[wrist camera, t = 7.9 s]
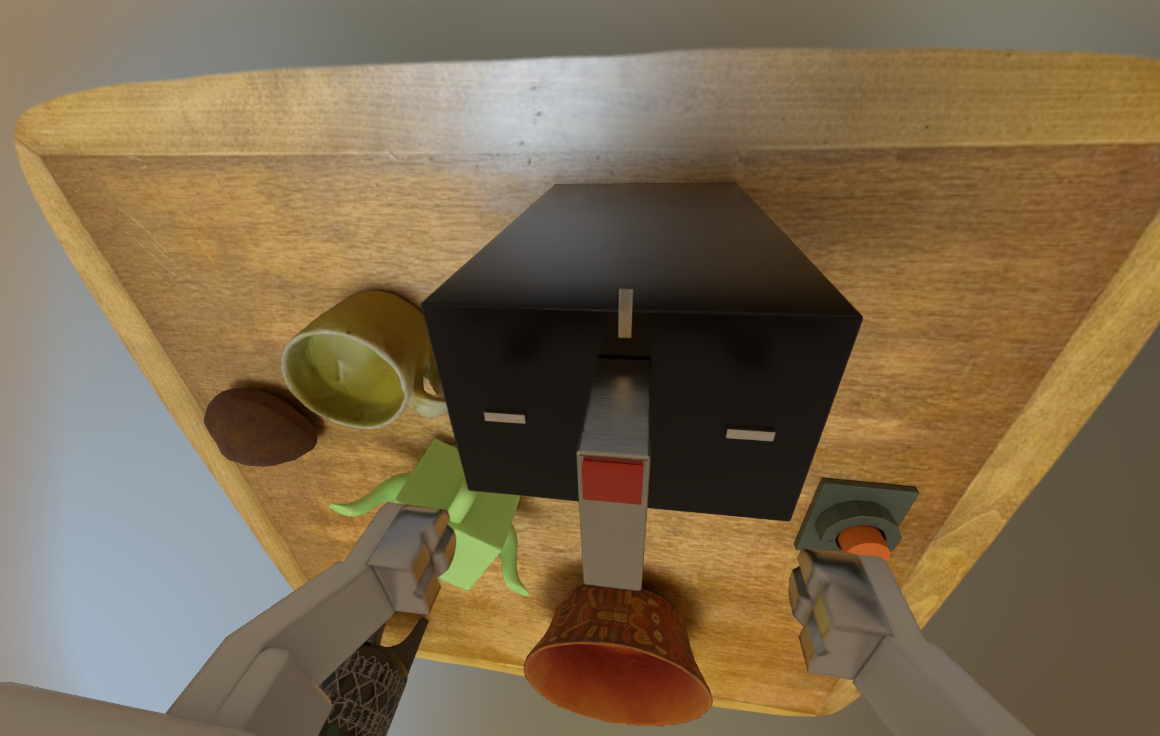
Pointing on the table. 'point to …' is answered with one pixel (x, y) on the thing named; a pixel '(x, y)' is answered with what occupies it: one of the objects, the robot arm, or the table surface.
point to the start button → (864, 541)
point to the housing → (854, 512)
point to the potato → (258, 428)
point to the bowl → (619, 659)
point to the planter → (370, 685)
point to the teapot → (455, 514)
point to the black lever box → (644, 344)
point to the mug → (364, 362)
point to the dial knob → (615, 473)
